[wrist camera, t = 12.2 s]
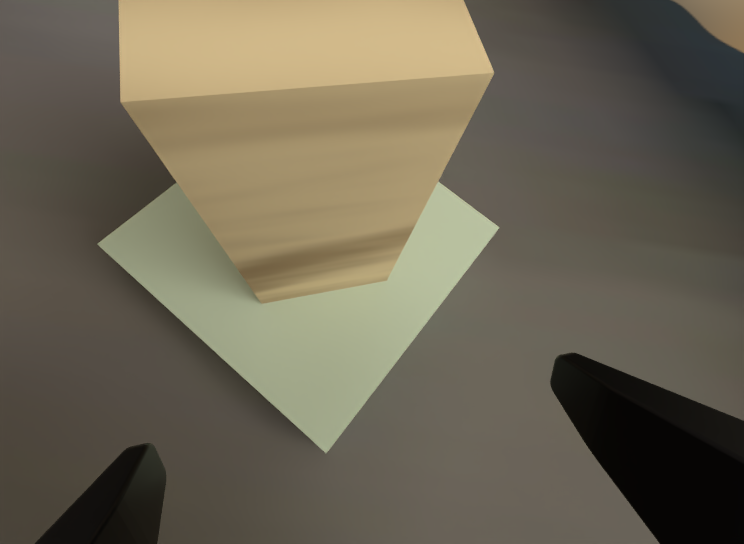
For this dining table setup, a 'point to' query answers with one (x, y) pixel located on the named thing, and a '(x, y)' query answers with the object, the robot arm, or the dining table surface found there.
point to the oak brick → (303, 124)
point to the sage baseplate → (301, 306)
